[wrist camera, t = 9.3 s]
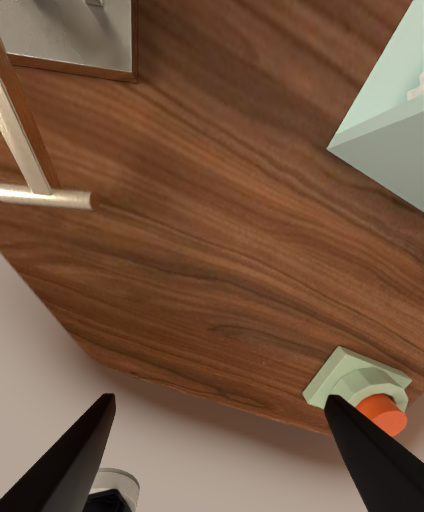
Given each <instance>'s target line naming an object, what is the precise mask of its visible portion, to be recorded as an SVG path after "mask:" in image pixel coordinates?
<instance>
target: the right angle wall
mask: <svg viewBox="0 0 424 512" xmlns="http://www.w3.org/2000/svg"><path fill="white" fill-rule="evenodd" d="M327 150H328V151H330V152H331V153H333V154H334V155H336V156H337V157H339V158H340V159H342V160H344V161H345V162H347V163H348V164H350V165H351V166H353V167H354V168H356V169H357V170H359V171H361V172H362V173H364V174H365V175H367V176H368V177H370V178H371V179H373V180H374V181H376V182H378V183H379V184H381V185H382V186H384V187H385V188H387V189H388V190H390V191H391V192H393V193H395V194H396V195H398V196H399V197H401V198H402V199H404V200H405V201H407V202H408V203H410V204H412V205H413V206H415V207H416V208H418V209H419V210H421V211H422V212H424V0H413V2H412V3H411V5H410V7H409V8H408V10H407V12H406V14H405V15H404V17H403V19H402V20H401V22H400V24H399V26H398V27H397V29H396V31H395V32H394V34H393V36H392V38H391V39H390V41H389V43H388V44H387V46H386V48H385V50H384V51H383V53H382V55H381V56H380V58H379V60H378V62H377V63H376V65H375V67H374V68H373V70H372V72H371V74H370V75H369V77H368V79H367V80H366V82H365V84H364V86H363V87H362V89H361V91H360V92H359V94H358V96H357V98H356V99H355V101H354V103H353V104H352V106H351V108H350V110H349V111H348V113H347V115H346V116H345V118H344V120H343V121H342V123H341V125H340V127H339V128H338V130H337V132H336V133H335V135H334V137H333V139H332V140H331V142H330V144H329V145H328V147H327Z"/></svg>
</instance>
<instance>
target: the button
mask: <svg viewBox="0 0 424 512" xmlns="http://www.w3.org/2000/svg"><path fill="white" fill-rule="evenodd" d="M355 408H356V409H357V410H359V411H360V412H361V413H362V414H364V415H365V416H366V417H367V418H369V419H370V420H371V421H372V422H373V423H375V424H376V425H377V426H378V427H380V428H381V429H382V430H383V431H385V432H386V433H387V434H388V435H390V436H391V437H393V436H395V435H397V434H398V433H400V432H401V431H402V430H403V429H404V427H405V426H406V424H407V417H406V415H405V414H404V413H403V412H402V411H401V410H400V409H399V408H398V406H397V405H396V404H395V403H394V402H393V401H392V400H391V399H390V398H389V397H388V396H387V395H385V394H383V393H380V394H372V395H370V396H368V397H366V398H364V399H363V400H361V402H360V403H359V404H358V405H357V406H356V407H355Z"/></svg>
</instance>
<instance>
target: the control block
mask: <svg viewBox="0 0 424 512" xmlns="http://www.w3.org/2000/svg"><path fill="white" fill-rule="evenodd" d="M411 382H412V380H411V379H410V378H409V377H408V376H407V375H406V374H404V373H403V372H402V371H400V370H397V369H395V368H392V367H390V366H388V365H385V364H383V363H380V362H378V361H375V360H373V359H370V358H368V357H365V356H363V355H361V354H358V353H356V352H353V351H351V350H348V349H346V348H343V347H341V346H338V347H337V348H336V350H335V351H334V352H333V353H332V355H331V356H330V357H329V359H328V360H327V361H326V363H325V364H324V365H323V367H322V368H321V369H320V371H319V372H318V373H317V374H316V376H315V377H314V378H313V380H312V381H311V382H310V384H309V385H308V386H307V388H306V389H305V390H304V392H303V393H302V394H303V395H304V397H305V399H306V401H307V403H308V404H311V405H314V406H317V407H320V408H323V409H324V407H325V403H326V400H327V397H328V395H330V394H337V395H340V396H341V397H343V398H344V399H345V400H346V401H347V402H349V403H350V404H351V405H352V406H354V407H356V406H357V405H358V404H359V403H360V402H361V400H363V399H364V398H366V397H368V396H370V395H372V394H380V393H383V394H385V395H387V396H388V397H389V398H390V399H391V400H392V401H393V402H394V403H395V404H396V405H397V406H398V408H399V409H400V410H401V411H402V412H403V413H405V409H406V406H407V403H408V397H407V395H406V393H405V391H404V389H405V388H406V387H407V386H408V385H409V384H410V383H411Z"/></svg>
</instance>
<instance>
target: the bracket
mask: <svg viewBox="0 0 424 512" xmlns="http://www.w3.org/2000/svg"><path fill="white" fill-rule="evenodd" d="M0 37H1V39H2V42H3V44H4V47H5V49H6V52H7V54H8V57H9V59H10V62H11V64H12V65H18V66H24V67H31V68H38V69H44V70H51V71H57V72H64V73H71V74H77V75H84V76H91V77H97V78H104V79H110V80H117V81H124V82H130V83H138V53H137V0H0Z"/></svg>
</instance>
